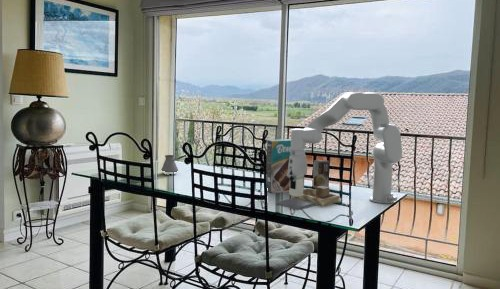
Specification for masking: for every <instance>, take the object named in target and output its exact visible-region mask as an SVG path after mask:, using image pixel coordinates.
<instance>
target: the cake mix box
mask: <svg viewBox="0 0 500 289" xmlns="http://www.w3.org/2000/svg"><path fill="white" fill-rule="evenodd" d="M290 150H291V138H289V139H288V138H285V139H267V140H266V175H267V188H268V192H267V193H269V194H278V193H287V192H289V189H290V180H289V178H288V177H287V176H286V175H287V173H288V164H289V158H290ZM303 189H305V182H304V183H303Z"/></svg>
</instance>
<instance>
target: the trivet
mask: <svg viewBox="0 0 500 289" xmlns="http://www.w3.org/2000/svg"><path fill="white" fill-rule="evenodd" d="M276 203H277V205H279V206H283V207H286V208H290V209H294V210H296V211H298V210H303V209H306V208H309V207H314V206H316V203H314V202H310V201H307V200H303V199H299V198H291V197H290V198H288V199H287V198H286V199H283V200H279V201H277V202H276Z"/></svg>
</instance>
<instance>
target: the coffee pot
mask: <svg viewBox="0 0 500 289" xmlns="http://www.w3.org/2000/svg"><path fill="white" fill-rule="evenodd" d="M186 155H187V154H184V155H181V156H180V157H177V158H174V157H175V155H174V154H166V155H164V157H165V160H164V162H163V164H162V167H161V170H162V171H165V172H177V171H178V172H179V168H178V166H177V164H176V162H175V161H177V160H180V159H184V158H185V157H186V158H187V156H186ZM161 170H160V171H161ZM178 172H177V173H178Z"/></svg>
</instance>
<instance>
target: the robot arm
mask: <svg viewBox="0 0 500 289" xmlns="http://www.w3.org/2000/svg"><path fill="white" fill-rule="evenodd" d="M351 110H352V111H368V112H369V114H370V117H371V123H372V132H373V137H374V138H375V139H376V140H378V141H380V142H379V143H377V144H376V145H375V146H374V148H373V152H372V153H373V154H372V155H373V156H372V157H373V183H372V196H370V197H369V199H368V200H369V201H370V202H373V203H377V204H392V203H394V202H397V201H398V196H394V193H392V185H393V184H392V183H393V164H397V163H398V162H400V161H401V159H402V157H403V146H402V138H401V137H402V136H401V133H400V132H401V131H400V129H399V128H398V127H397V126H396V125H395V124H391V123H390V119H389V113H388V110H387V107H386V106H385V99H384V96H383V95H382V94H381V93H379V92H364V93H363V92H345V93H344V94H342V95H341V96H340V97H339V98H338V99H337V100H336V101H335V102H334V103H332V104H331V106H329V108H328V109H326V110H325V111H324V112H322V113H320V115H318V116H316V117H315V118H313V119H312V120H311V121H310V122H309V123H308V124H307V125H306V126H305V127H304V128H292V129H291V131H290V139H291V150H290V158H289V164H288V173H287V175H286V176H287V177H288V178H289V180H290V188H292V189H295V186H296V181H295V178H296V176H299V175H304V178H305V176H306V175H307V174H308V160H307V155H306V146H307V145H306V144H313V145H316V144H319V143H321V141H322V140H323V133H322V131H323V130H324V129H326V128H328V127H330V126H333V125H336V124H338V123H339V122H340V121H341V120H343V118H344V117H346V115H347V114H348V113H350V111H351ZM292 174H293V175H292ZM292 176H293V177H292Z"/></svg>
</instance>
